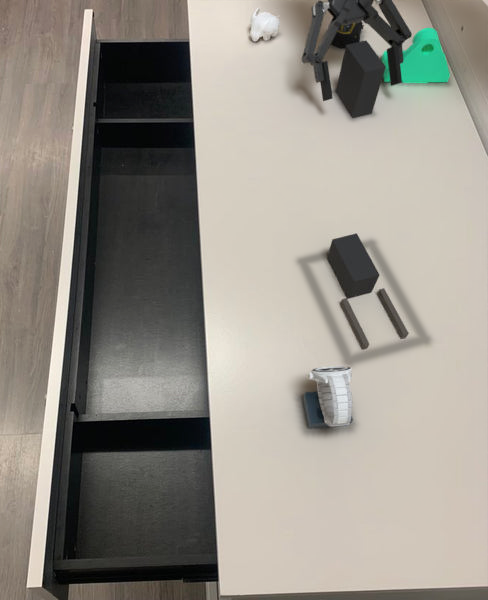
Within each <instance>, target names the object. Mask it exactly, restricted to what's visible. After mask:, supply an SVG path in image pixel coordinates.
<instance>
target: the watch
mask: <svg viewBox="0 0 488 600" xmlns="http://www.w3.org/2000/svg"><path fill="white" fill-rule="evenodd" d="M352 370H353V369H352V367H350V366H344V365H343V366H342V365H332V366H331V365H329V366H322V367H315V368H312V369H311V372H310V373H308V379H309V380H312V381H315V382H316V388H317V391H309V392H307V391H306V392H304V393H303V396H302V398H301V399H302V403H303V408H304V414H305V419H306V424H307V430H313V429H314V430H315V429H324V428H325V429H326V428H338V427H348V426H351V424H352V422H353V421H354V418H353V415H352V414H353V400H352V399H353V398H352V396H353V395H352V390H351V385H350V382H351V381H352Z"/></svg>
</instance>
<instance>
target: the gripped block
mask: <svg viewBox="0 0 488 600" xmlns="http://www.w3.org/2000/svg"><path fill="white" fill-rule="evenodd" d="M385 68H386V66H385V65H384V64H383V62H382V61H381V58H380V57H379V56H378V54H377V53H376V51H375V50H374V49H373V47H372V46H371V45H370V43H369V42H368V40H362V41H361V40H360V42H357V43H352V44H348V45H346V47H345V49H344V52H343V56H342V62H341V66H340V70H339V75H338V79H337V84H336V89H335V94H336V95H337V97H338V99H339V101H340V102H341V103H342V105H343V106H344V108H345V110H346V111H347V113H348V114H349V116H350V117H351V119H357V118H361V117H365V116H369V115H372V114H373V111H374V108H375V105H376V101H377V98H378V94H379V91H380V88H381V84H382V81H383V79H384V76H383V75H384V71H385Z"/></svg>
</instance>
